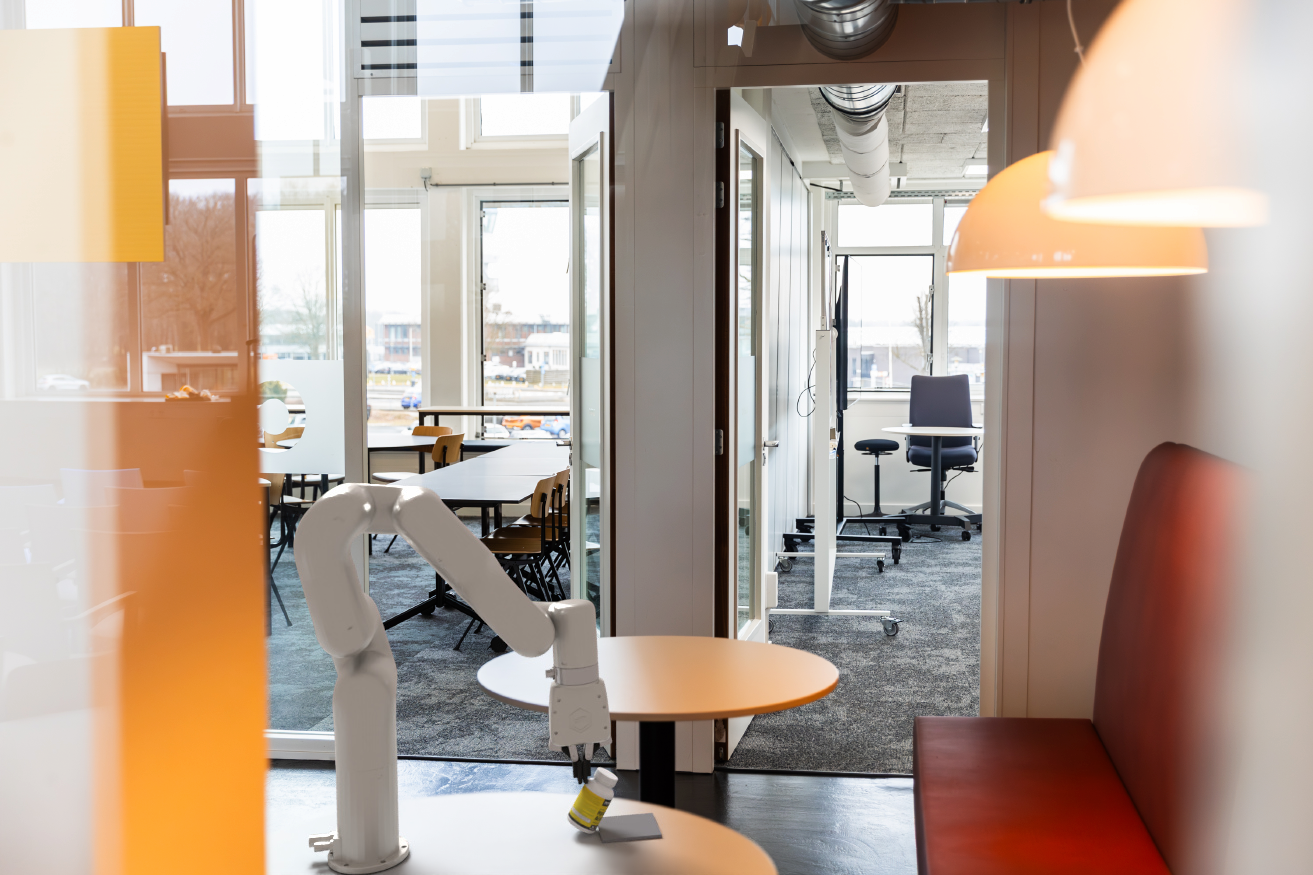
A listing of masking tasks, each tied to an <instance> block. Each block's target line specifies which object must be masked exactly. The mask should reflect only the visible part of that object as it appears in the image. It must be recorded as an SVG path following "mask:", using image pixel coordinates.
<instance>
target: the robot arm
mask: <svg viewBox="0 0 1313 875" xmlns="http://www.w3.org/2000/svg"><path fill="white" fill-rule="evenodd" d="M361 534H371V535H389V536H391V535H392V536H393V535H396V536H397V535H399V536H400V537H401V538H402V539H403V541H405V542H406V543H407V544H408V545H409V546H410V547H411V548H412V549H413V550H414V551H415V552H416V553H417V554H418V555H420V557H421V558H423V560H425V561H426V562H427V563H428V564H429V566H430V567H431V568H432V569H433V570H435V572H436V574H438V575H439V576H440V577H441V578H442V579H443V580H444V581H445V582H446V583H447V585H449V587H451V588H452V589H453V591H455V593H456V594H457V595H458V596H459V597H460V598H461V599H462V600H463V601H464V602H466V604H468V605H469V606H470V607H471V609H472V610H474V612H475V613H476V614H477V615H478V616H479V617H480V618H481V619H482V620H483V621H484V623H486V624H487V626H488V627H489V628H490V629H492V631H493V632H495V634H497V636H499V638H500V639H501V640H502V641H503V642H505V644H507V646H508V647H510V648H511V649H512V651H513V652H515V653H516V654H518V655H520V656H521V657H524V658H528V659H529V658H530V659H531V658H538V657H541V656H543V655H544V654H546V653H547V652H548V651H549V650H550V649H551V647H552V658H553V666H552V667H551V668H549V669H545V679H552V680H554V681H552V682H551V683H550V688H549V696H548V697H549V700H548V729H549V741H548V749H549V751H553V752H561V753H563V754H565V755H566V756H567V757H568V758H569V759H570V760H571V762H572V777H573V779H576V780H577V784H578V785H582V784H588V779H589V777H592V763H591V762H592V761H591V760H592V758H593V756H594V754H596V752H598V750H599V749H600V748H601V747H605V746H609V745H611V744H612V743H613V740H612V736H611V718H610V717H611V716H610V708H609V699H608V692H607V688H606V684H605V680H604V679H603V678H602V677H600V671H599V669H600V668H599V667H600V666H599V656H598V654H599V653H598V652H599V651H598V637H597V636H598V634H597V618H596V617H597V614H596V607H595V605H594V603H593V602H592V601H590V600H588V599H582V598H570V599H564V600H559V601H534V600H533V601H532V600H531V599H530V598H529V596H527V595H526V594H525V593H524V592H523V591H522V590H521V588H519V587H518V585H517V584H516V583H515V582H514V581H513V580H512V578H510V576H509V574H508V573H507V572H506V571H505V570H504V568H503V567H502V566H501V564H500V562H499V561H498V559H497V558H496V556H495V555H494V554H493V553H492V551H491V550H490V549H489V548H488V547H487V546H486V544H485V543H483V541H481V540H480V539H479V538H478V537H477V536H476V535H475V534H474V533H473V532H472V530H470V529H469V528H468V526H466V525H465V524H464V523H463V522H462V521H461V519H459V518H458V517H457V516H456V514H455V513H454V512H453V511H452V510H451V509H450V508H449V507H448V506H447V505H446V504H445V503H444V502H443V501H442V498H441V497H440V496H439V495H438V493H437V492H435V491H434V490H432V489H431V488H428V487H425V486H413V485H412V486H410V485H406V486H405V485H404V486H403V485H388V484H370V483H357V482H347V483H346V482H345V483H341V484H339V485H337V486H335V487H333V488H331V489H330V490H328V491H326V492H325V493H324V494H322V495H321V496H320V497H319V498H318V499H317V500H316V501H315V502H314V503H313V504H312V505H311V506H310V507H309V508H308V509H307V511H306V512H305V513H304V514H303V516H302V518H301V519H300V521H299V523H298V526H297V527H296V531H295V533H294V537H293V558H294V561H295V562H294V563H295V566H296V570H297V574H298V578H299V580H300V583H301V587H302V591H303V594H304V598H305V601H306V605H307V608H308V612H309V615H310V618H311V621H312V625H313V628H314V633H315V638H316V640H317V642H318V645H320V647H321V648H322V649H323V651H324V652H326V653H327V654H329V655H330V656H331V659H332V662H333V665H334V668H335V671H336V674H337V678H336V681H335V684H334V688H333V693H332V702H331V703H332V706H331V707H332V719H333V720H332V721H333V722H332V723H333V733H334V760H335V788H336V789H335V790H336V791H335V792H336V793H335V795H336V797H335V798H336V829H335V830H331V831H330V833H317V834H309V837H308V847H309V848H310V849H311V848H313V851H314V853H318V852H319V853H320V852H325V851H328V853H327V865H328V867H329V868H331V870H333V871H335V872H337V873H342V874H347V875H367V874H368V875H369V874H373V873H377V872H382V871H385V870H387V869H390V868H393V867H395V866H397V865H399V864H401V862H403V861H404V860H405V859H406V858H407V856H408V855H409V853H410V844H409V841H408V840H407V839H406V838H404V837H402V836H400V830H399V829H400V828H399V827H400V826H399V783H398V782H399V780H398V776H399V774H398V744H397V743H398V740H397V739H398V736H397V734H398V733H397V689H398V669H397V663H396V660H395V658H394V655H393V651H392V649H391V644H390V643H389V642H390V641H389V639H388V636H387V632H386V630H385V626H384V624H383V620H382V616H381V614H380V611H379V609H378V606H377V604H376V602H375V600H373V598H372V597H371V596H370V595H369V594H367V593H366V592H364V591H363V589H362V585H361V583H360V580H359V575H358V571H357V568H356V567H357V566H356V565H355V563H354V560H353V557H352V552H351V548H352V543H353V541H354V540H355V539H356V538H357V537H358V536H360V535H361ZM579 745H580V746H581V745H583V751H582V753H581V755H580V753H579V752H578V751H577V746H579Z"/></svg>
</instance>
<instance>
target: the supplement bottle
mask: <svg viewBox="0 0 1313 875" xmlns="http://www.w3.org/2000/svg"><path fill="white" fill-rule="evenodd" d="M618 781H619V778H618V776H616V775H615V774H614V773H613V772H611V771H609V770H608V769H606V768H604V767H601V766H600V767H597V768H596V770H595V772H594V774H593V777H590V778H589V777H588V784H585V783H583V786H582V788H581V789H580V791H579V793H578V794H577V797H576V799H575V800H574V802H573V804H572V806H571V808H570V810H569V812H568V814H567V815H566V820H567V821H568V822H569V824H570V825H572V827H574V828H576V829H577V830H579V831H581V832H583V833H585V834H589V835H591V834H595V832H596V830H597V829H598V825H599V823H600V821H601V819H602V818H603V817H605V814H606V812H607V810H608V808H609V806H610V804H611V803H612V802H613V798H614V796H615V795H614V794H615V793H614V790H613V788H615V786H616V784H617V782H618Z"/></svg>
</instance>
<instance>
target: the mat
mask: <svg viewBox="0 0 1313 875" xmlns="http://www.w3.org/2000/svg"><path fill="white" fill-rule="evenodd" d="M597 829H598V833H599V837H600V841H601V844H605V843H616V842H628V841H638V840H649V839H658V838H660V839H661V838H662V835H663V834H662V833H661V830H660V827H659V826H658V823H657V820H656V818H655V815H654V813H653V812H647V813H634V814H623V815H611V816H603V818H602V819H601V821H600V823H599V825H598V827H597Z"/></svg>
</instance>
